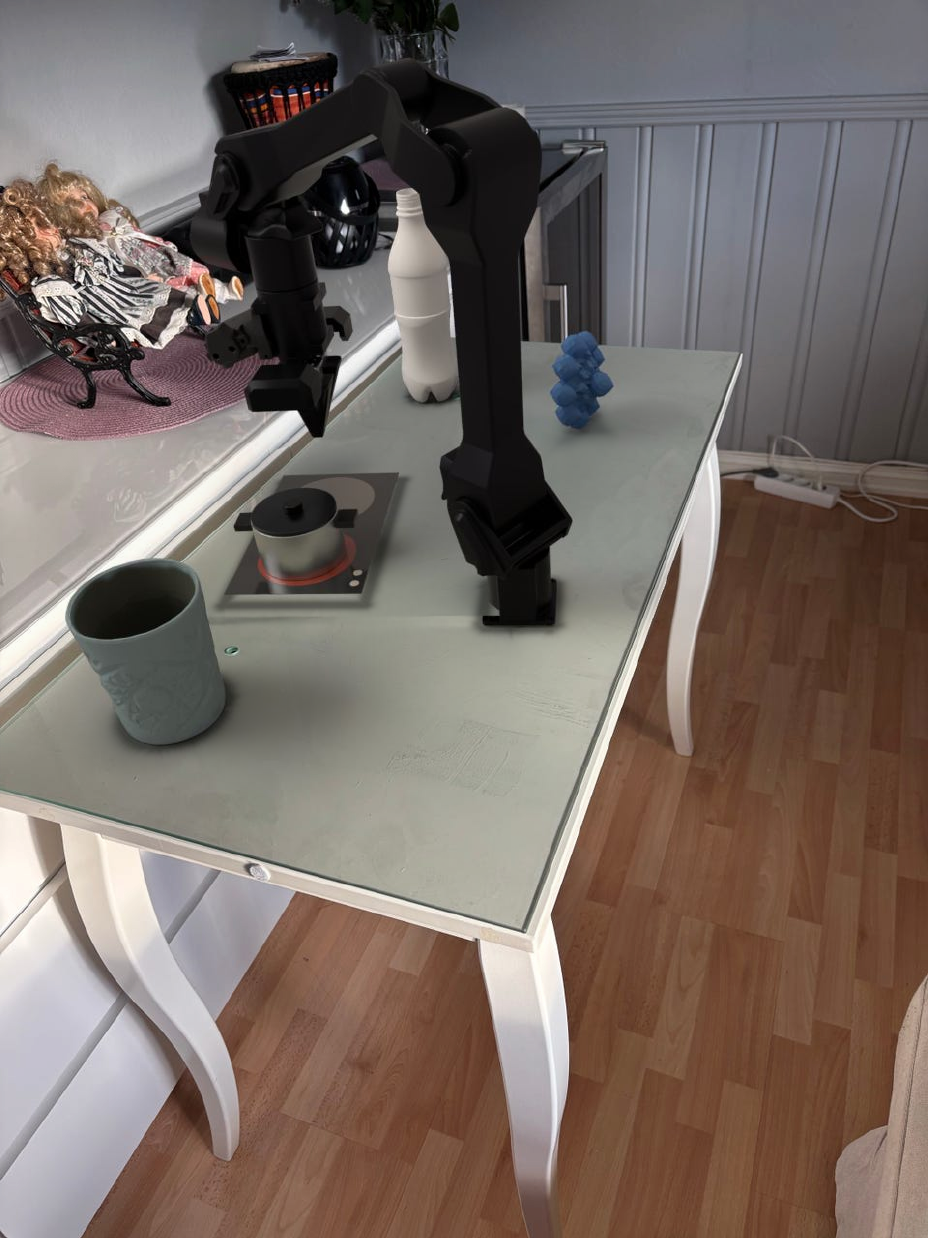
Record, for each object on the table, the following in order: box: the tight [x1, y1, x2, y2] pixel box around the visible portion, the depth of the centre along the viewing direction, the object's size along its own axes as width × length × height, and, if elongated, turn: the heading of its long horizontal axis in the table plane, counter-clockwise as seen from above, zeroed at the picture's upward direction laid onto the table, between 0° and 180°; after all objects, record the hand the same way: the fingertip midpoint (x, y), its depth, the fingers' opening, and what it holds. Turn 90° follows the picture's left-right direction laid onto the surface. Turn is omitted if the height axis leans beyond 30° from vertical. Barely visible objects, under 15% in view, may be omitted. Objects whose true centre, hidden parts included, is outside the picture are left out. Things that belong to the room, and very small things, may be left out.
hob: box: [223, 471, 400, 596], centre depth 95 cm, size 23×14×1 cm, turn 174°
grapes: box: [549, 330, 615, 430], centre depth 105 cm, size 12×7×12 cm, turn 152°
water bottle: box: [387, 187, 459, 403], centre depth 112 cm, size 7×7×25 cm
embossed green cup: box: [64, 557, 227, 746], centre depth 72 cm, size 10×10×12 cm
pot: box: [232, 488, 358, 581], centre depth 88 cm, size 8×12×6 cm
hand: (318, 436), depth 93 cm, fingers closed
